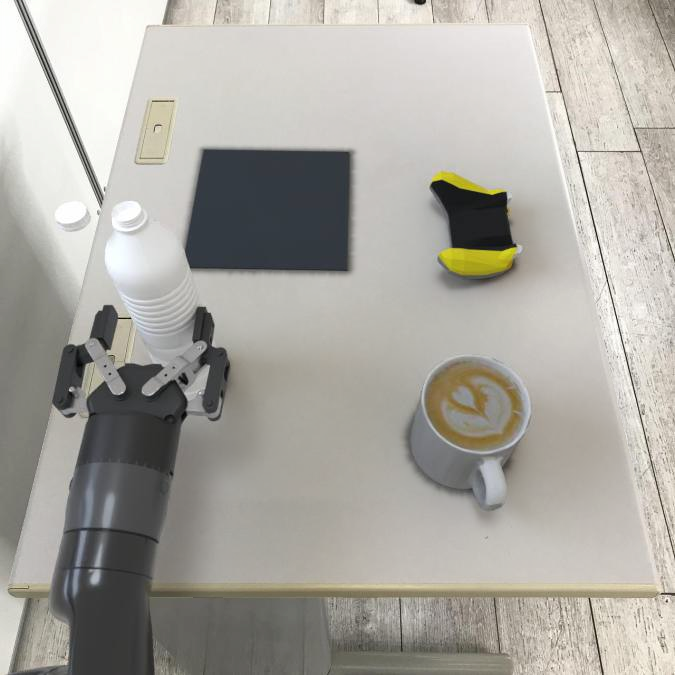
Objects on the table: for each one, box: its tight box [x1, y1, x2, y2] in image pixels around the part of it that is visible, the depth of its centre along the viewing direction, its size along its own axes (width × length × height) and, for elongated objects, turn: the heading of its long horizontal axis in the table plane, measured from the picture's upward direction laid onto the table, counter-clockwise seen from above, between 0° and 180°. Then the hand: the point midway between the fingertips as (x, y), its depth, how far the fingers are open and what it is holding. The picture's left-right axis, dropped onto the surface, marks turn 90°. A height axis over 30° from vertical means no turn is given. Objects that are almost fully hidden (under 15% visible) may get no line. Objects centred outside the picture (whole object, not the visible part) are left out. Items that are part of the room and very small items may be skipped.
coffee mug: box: [409, 353, 532, 512], centre depth 61 cm, size 13×10×10 cm
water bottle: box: [54, 200, 218, 401], centre depth 59 cm, size 9×6×25 cm
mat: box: [184, 148, 350, 272], centre depth 82 cm, size 20×20×1 cm
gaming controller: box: [429, 170, 523, 280], centre depth 77 cm, size 15×6×10 cm
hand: (157, 310), depth 59 cm, fingers open, 8 cm apart
